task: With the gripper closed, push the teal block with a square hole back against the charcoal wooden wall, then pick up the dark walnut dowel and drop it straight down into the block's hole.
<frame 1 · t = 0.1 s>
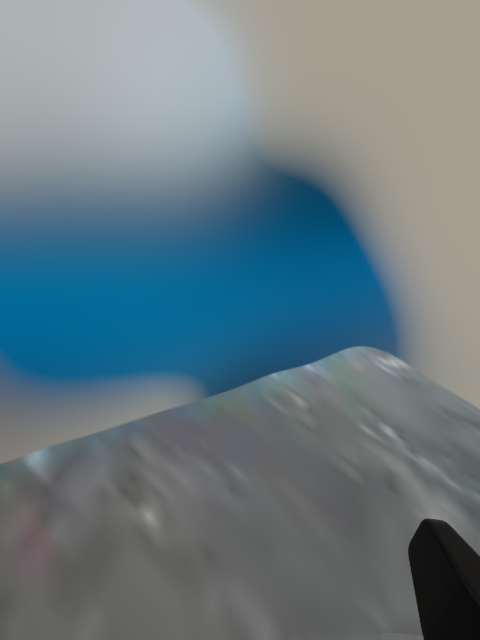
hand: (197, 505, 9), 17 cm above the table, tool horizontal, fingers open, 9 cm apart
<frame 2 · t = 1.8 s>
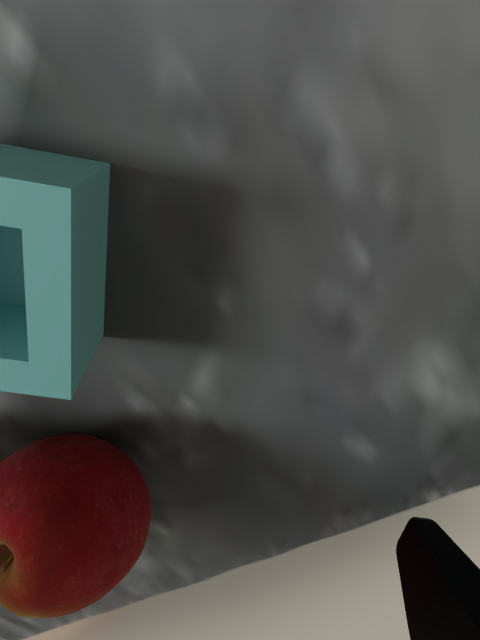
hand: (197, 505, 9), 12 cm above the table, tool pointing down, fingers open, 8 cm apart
apple: (89, 453, 25), on the table
holed block: (13, 241, 19), on the table
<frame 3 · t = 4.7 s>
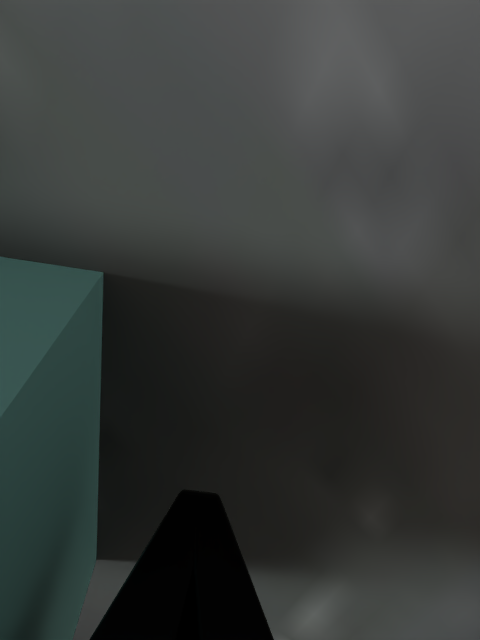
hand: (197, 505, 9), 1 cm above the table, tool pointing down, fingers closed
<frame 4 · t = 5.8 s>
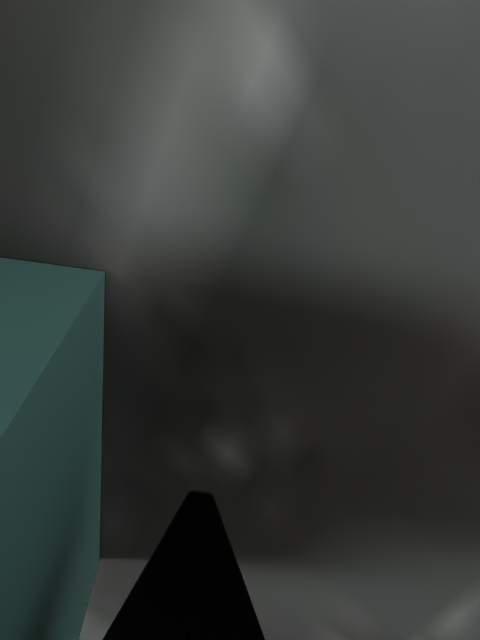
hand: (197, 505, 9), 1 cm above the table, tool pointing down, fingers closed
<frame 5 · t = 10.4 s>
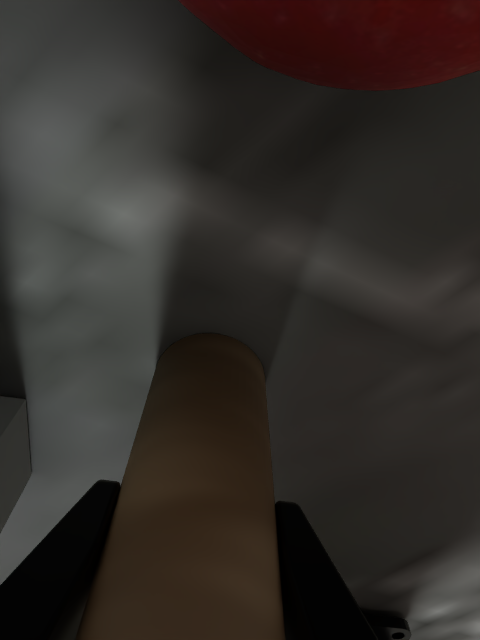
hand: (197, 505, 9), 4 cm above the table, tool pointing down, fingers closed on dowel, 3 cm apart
dowel: (210, 380, 12), on the table, touching gripper
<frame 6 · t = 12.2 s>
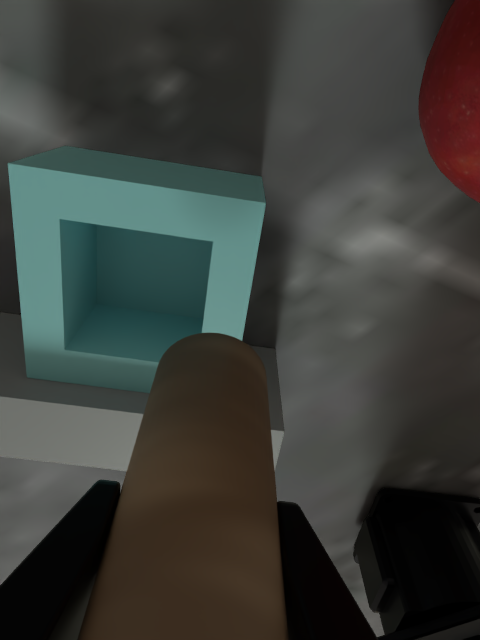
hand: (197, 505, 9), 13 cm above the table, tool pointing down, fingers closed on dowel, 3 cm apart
dowel: (211, 380, 12), point 9 cm above the table, touching gripper
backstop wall: (92, 350, 22), on the table
holed block: (159, 252, 20), on the table
when the fingers open (6 cm above the table, at t = 14.2 s): dowel drops 1 cm, resting on holed block.
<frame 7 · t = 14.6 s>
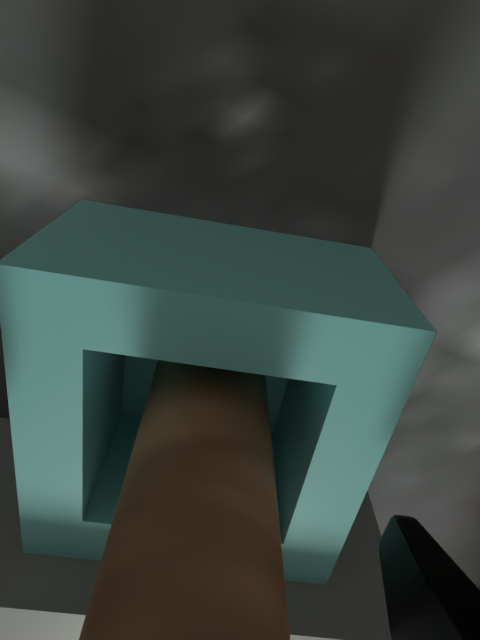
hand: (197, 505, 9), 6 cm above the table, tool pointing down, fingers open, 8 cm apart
dowel: (212, 353, 13), point 1 cm above the table, touching holed block
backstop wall: (110, 462, 16), on the table
holed block: (210, 342, 14), on the table, touching dowel
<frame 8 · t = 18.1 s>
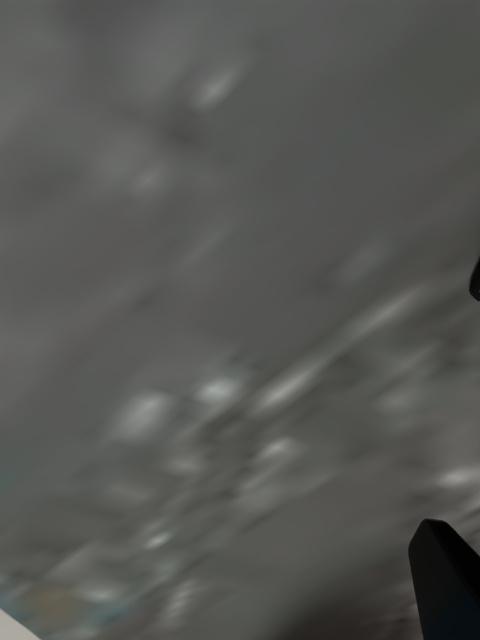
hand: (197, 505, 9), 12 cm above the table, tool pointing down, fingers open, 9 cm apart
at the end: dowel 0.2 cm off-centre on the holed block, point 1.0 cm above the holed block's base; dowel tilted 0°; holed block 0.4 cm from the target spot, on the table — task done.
